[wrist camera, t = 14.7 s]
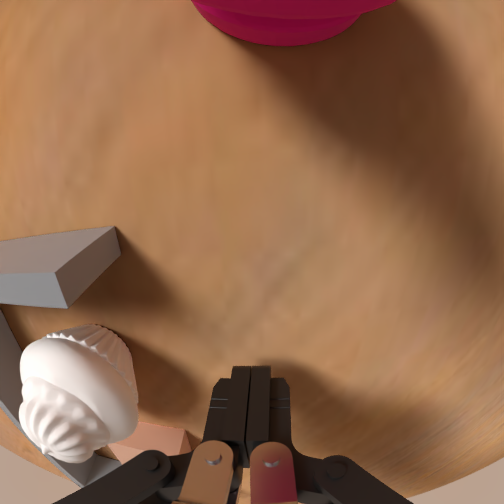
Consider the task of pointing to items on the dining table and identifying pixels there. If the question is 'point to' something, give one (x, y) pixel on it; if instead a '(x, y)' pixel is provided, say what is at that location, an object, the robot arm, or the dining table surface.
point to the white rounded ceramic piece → (78, 392)
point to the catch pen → (55, 296)
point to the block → (151, 441)
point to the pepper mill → (285, 18)
